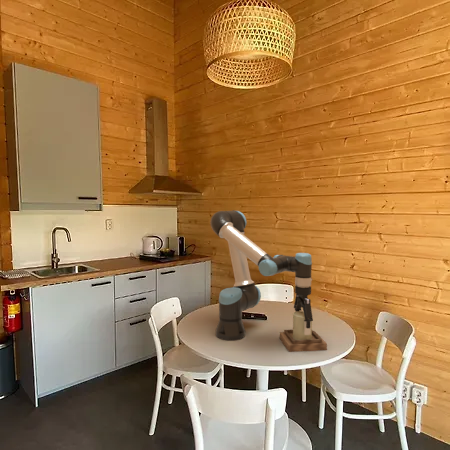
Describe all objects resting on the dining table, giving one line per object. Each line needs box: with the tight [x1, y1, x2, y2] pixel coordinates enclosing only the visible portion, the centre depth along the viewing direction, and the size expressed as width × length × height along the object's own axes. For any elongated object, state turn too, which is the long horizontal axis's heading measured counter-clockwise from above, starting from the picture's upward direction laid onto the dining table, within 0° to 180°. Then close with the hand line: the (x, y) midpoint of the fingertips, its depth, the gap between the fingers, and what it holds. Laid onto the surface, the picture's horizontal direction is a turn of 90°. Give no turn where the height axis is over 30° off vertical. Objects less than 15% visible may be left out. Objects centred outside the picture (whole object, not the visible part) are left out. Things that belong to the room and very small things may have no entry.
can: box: [292, 311, 313, 340], centre depth 166 cm, size 9×9×12 cm
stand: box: [279, 329, 328, 353], centre depth 167 cm, size 18×16×4 cm
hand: (302, 329), depth 166 cm, fingers open, 13 cm apart
